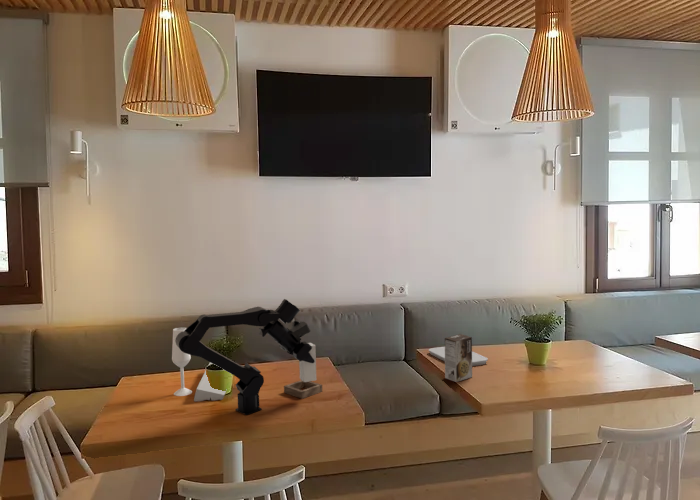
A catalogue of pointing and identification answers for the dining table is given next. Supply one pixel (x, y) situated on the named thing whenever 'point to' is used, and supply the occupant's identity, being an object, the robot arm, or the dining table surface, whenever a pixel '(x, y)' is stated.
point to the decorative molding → (207, 390)
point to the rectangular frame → (295, 390)
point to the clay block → (308, 367)
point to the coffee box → (458, 357)
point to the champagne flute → (180, 362)
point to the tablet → (440, 354)
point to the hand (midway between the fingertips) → (311, 360)
